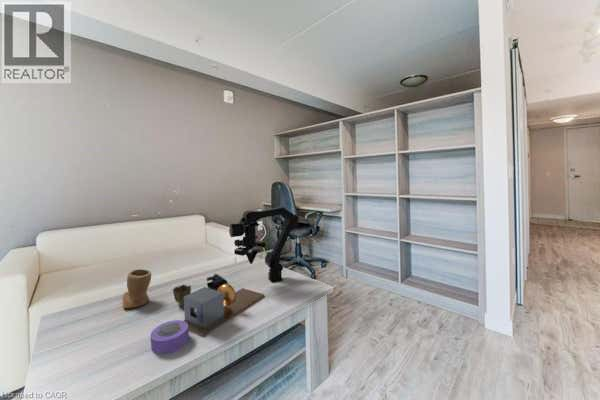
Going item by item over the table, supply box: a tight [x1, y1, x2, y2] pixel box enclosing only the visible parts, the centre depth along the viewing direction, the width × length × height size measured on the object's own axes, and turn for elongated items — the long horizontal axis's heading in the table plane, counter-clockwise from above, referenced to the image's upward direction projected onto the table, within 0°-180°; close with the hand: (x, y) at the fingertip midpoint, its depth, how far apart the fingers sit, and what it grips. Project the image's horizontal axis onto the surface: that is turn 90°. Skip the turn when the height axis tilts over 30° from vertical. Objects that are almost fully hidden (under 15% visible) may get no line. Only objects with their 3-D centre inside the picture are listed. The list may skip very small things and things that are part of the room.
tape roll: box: [150, 319, 190, 355], centre depth 89 cm, size 12×12×5 cm
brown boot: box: [121, 268, 152, 309], centre depth 119 cm, size 15×12×15 cm
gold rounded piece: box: [193, 283, 236, 315], centre depth 105 cm, size 17×9×9 cm, turn 150°
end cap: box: [206, 273, 229, 291], centre depth 131 cm, size 10×7×7 cm
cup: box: [172, 284, 192, 307], centre depth 116 cm, size 8×7×8 cm
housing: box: [183, 286, 265, 338], centre depth 111 cm, size 36×14×12 cm, turn 150°
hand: (251, 263), depth 135 cm, fingers closed
